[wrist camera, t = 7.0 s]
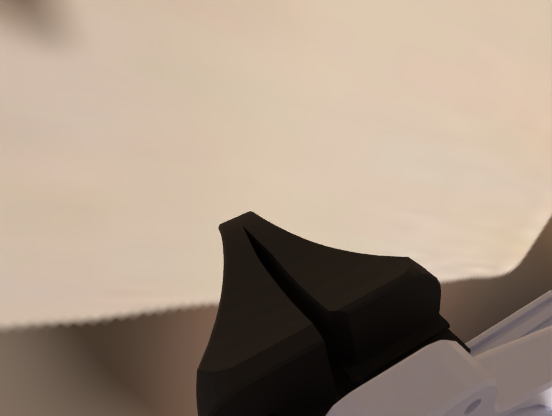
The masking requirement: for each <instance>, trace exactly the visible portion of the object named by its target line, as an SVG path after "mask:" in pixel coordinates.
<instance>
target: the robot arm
mask: <svg viewBox="0 0 552 416" xmlns="http://www.w3.org/2000/svg"><path fill="white" fill-rule="evenodd" d="M219 231H220V233H221V236H222V242H223V254H224V271H223V285H222V292H221V299H220V303H219V308H218V313H217V317H216V321H215V324H214V327H213V330H212V334H211V337H210V340H209V343H208V345H207V348H206V350H205V353H204V355H203V357H202V360H201V362H200V365H199V368H198V370H197V384H196V389H197V390H196V396H197V409H198V416H552V290H550V291H549V292H547V293H546V294H544V295H542V296H541V297H539V298H537V299H536V300H534V301H533V302H531V303H529V304H528V305H526V306H525V307H523V308H521V309H520V310H518V311H517V312H515V313H514V314H512V315H510V316H509V317H507V318H506V319H504V320H503V321H501V322H499V323H498V324H496V325H494V326H493V327H491V328H490V329H488V330H487V331H485V332H483V333H482V334H480V335H479V336H477V337H476V338H474V339H472V340H471V341H469V342H468V343H466V344H464V343H463V342H462V341H461V340H460V339H459V338H458V337H457V336H455V335H454V334H453V333H452V332H451V331H450V330H449V329H448V328H449V327H450V325H449V323H448V322H447V321H446V320H445V319H444V318H443V317H442V316H441V315H440V314H439V310H440V299H441V289H440V288H441V287H440V283H439V281H438V279H437V278H436V277H435V276H433V275H432V274H431V273H430V272H428V271H427V270H426V269H425V268H423V267H422V266H421V265H419V264H418V263H416V262H415V261H413V260H412V259H410V258H409V257H395V256H377V255H369V254H361V253H355V252H349V251H344V250H340V249H335V248H331V247H327V246H324V245H321V244H317V243H314V242H311V241H309V240H306V239H303V238H301V237H299V236H296V235H294V234H292V233H290V232H288V231H286V230H284V229H282V228H280V227H278V226H276V225H274V224H272V223H270V222H268V221H267V220H265V219H263V218H262V217H260V216H258V215H257V214H255V213H254V212H251V211H249V212H247V213H245V214H242V215H240V216H238V217H236V218H233V219H231V220H229V221H227V222H224V223H222V224H220V226H219Z"/></svg>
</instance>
